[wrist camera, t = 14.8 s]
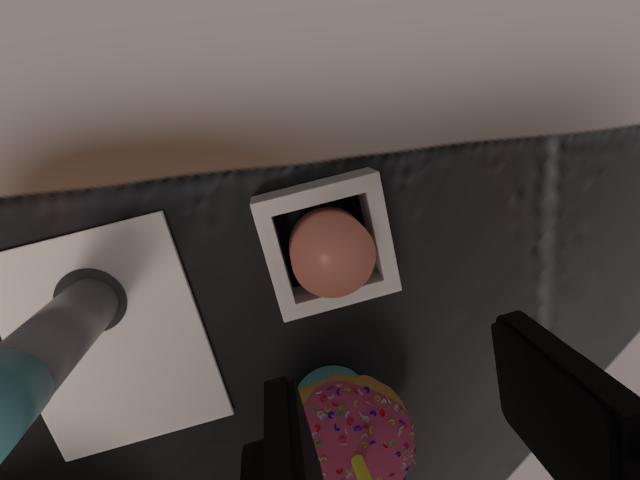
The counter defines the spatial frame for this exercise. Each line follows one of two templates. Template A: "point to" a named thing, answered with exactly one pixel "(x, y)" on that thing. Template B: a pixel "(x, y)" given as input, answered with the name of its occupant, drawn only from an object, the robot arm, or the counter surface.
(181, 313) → the paper
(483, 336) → the counter surface
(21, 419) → the marker
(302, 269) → the button
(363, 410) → the cupcake
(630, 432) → the robot arm
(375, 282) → the button housing
